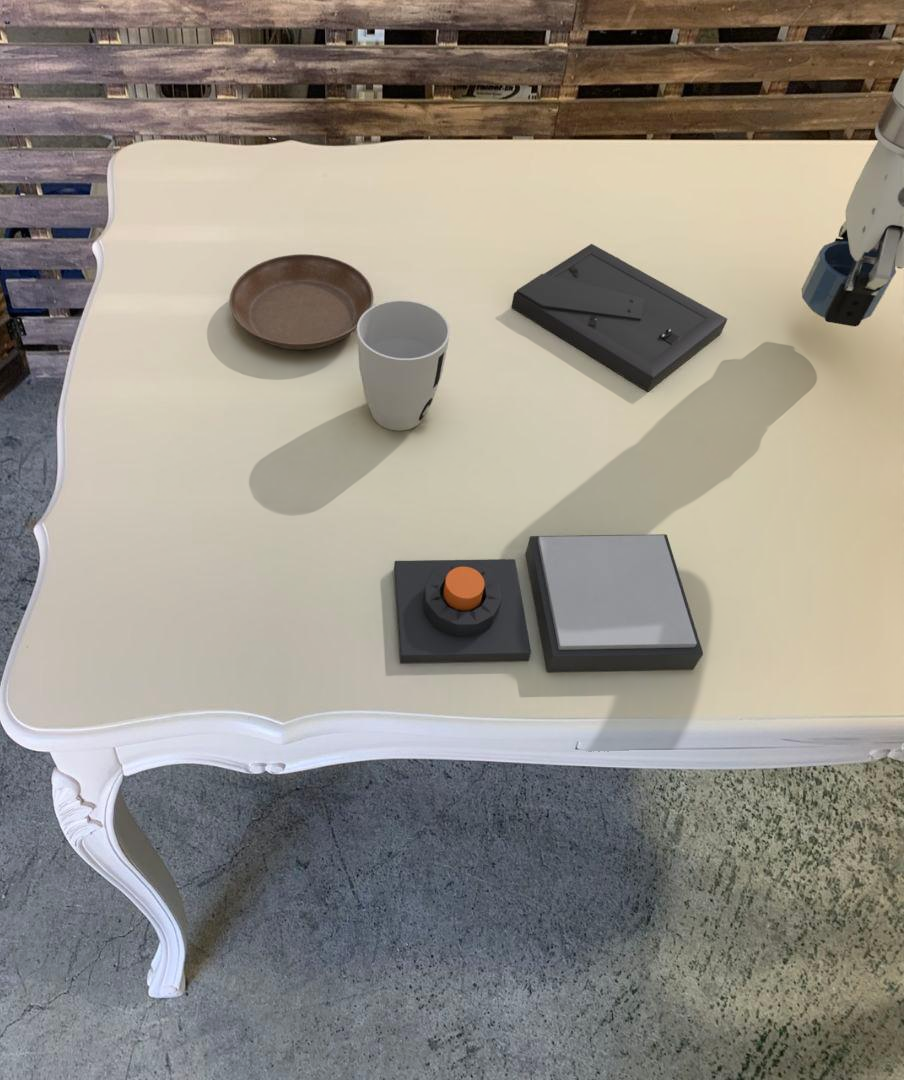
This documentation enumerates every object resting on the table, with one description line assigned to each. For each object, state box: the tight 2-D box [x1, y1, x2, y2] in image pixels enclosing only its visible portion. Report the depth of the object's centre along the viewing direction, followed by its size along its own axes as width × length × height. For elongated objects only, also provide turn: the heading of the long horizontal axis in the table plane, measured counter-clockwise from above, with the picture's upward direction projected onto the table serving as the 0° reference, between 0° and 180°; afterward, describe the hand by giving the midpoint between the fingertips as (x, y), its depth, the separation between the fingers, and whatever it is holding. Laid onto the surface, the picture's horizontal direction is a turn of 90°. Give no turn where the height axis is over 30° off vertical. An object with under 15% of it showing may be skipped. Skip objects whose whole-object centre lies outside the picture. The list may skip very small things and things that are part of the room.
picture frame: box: [510, 243, 728, 392], centre depth 94 cm, size 13×2×18 cm
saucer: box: [229, 253, 374, 350], centre depth 93 cm, size 15×15×3 cm
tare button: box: [443, 567, 485, 611], centre depth 69 cm, size 3×3×2 cm
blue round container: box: [801, 240, 897, 321], centre depth 89 cm, size 7×7×5 cm
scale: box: [524, 533, 704, 673], centre depth 72 cm, size 12×12×3 cm
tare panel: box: [393, 558, 532, 664], centre depth 71 cm, size 10×9×3 cm
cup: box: [356, 299, 451, 432], centre depth 82 cm, size 8×8×10 cm
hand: (838, 297), depth 90 cm, fingers closed on blue round container, 7 cm apart
